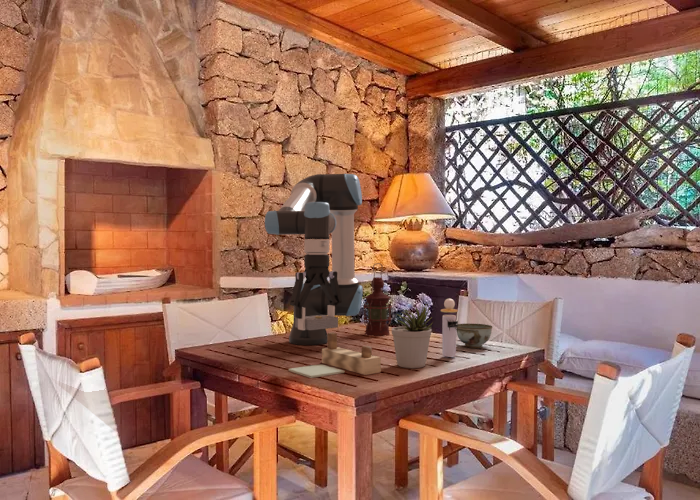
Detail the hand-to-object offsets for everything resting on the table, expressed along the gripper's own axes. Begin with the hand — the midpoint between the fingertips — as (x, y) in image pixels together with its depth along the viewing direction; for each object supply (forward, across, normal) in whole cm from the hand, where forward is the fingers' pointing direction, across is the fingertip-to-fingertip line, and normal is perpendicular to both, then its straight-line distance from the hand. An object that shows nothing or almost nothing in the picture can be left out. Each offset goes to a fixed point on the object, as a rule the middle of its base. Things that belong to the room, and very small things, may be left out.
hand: (316, 328), depth 182 cm
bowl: (+13, +72, +1) cm, 73 cm away
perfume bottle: (+13, +49, -8) cm, 51 cm away
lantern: (+13, +63, +46) cm, 79 cm away
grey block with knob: (0, 0, 0) cm, 0 cm away
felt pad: (+13, 0, 0) cm, 13 cm away
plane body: (+13, +12, -1) cm, 18 cm away
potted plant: (+13, +29, -11) cm, 34 cm away
